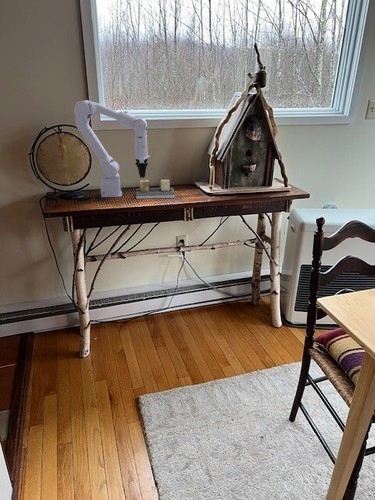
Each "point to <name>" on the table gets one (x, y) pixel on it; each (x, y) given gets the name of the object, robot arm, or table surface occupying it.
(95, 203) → the table surface
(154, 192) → the rail
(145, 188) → the finger
